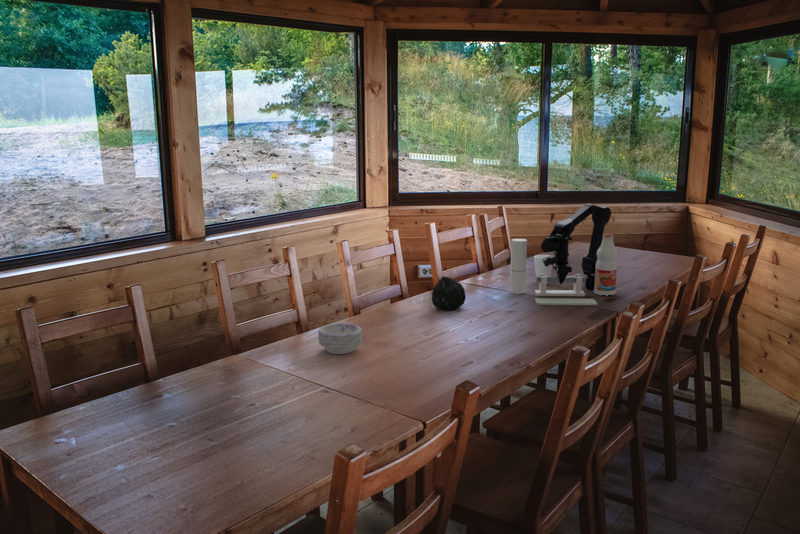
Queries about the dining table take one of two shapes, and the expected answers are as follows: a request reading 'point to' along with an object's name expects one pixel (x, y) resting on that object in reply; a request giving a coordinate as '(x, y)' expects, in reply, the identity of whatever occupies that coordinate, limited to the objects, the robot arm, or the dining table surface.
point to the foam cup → (541, 266)
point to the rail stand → (575, 292)
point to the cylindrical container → (518, 266)
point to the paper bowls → (340, 337)
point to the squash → (448, 294)
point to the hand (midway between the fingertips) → (560, 283)
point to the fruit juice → (606, 267)
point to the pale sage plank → (564, 301)
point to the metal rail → (556, 279)
